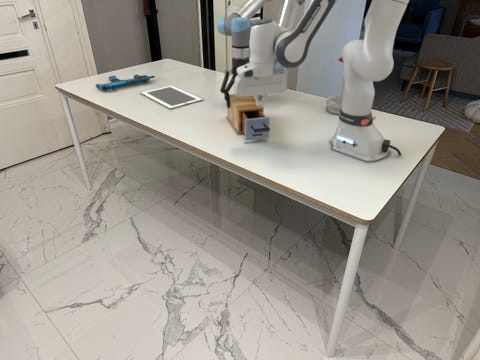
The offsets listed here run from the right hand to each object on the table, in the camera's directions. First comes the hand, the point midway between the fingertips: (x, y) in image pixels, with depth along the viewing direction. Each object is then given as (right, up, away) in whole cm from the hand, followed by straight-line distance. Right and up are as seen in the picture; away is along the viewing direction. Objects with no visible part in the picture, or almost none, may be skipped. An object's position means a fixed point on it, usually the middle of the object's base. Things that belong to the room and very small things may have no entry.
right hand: (260, 105), depth 130 cm
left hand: (-8, +6, +28) cm, 29 cm away
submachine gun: (-79, +31, +78) cm, 115 cm away
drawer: (-2, -8, +16) cm, 18 cm away
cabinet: (-6, -3, +26) cm, 27 cm away
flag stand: (+42, +6, +40) cm, 58 cm away
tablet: (-46, +17, +57) cm, 75 cm away
